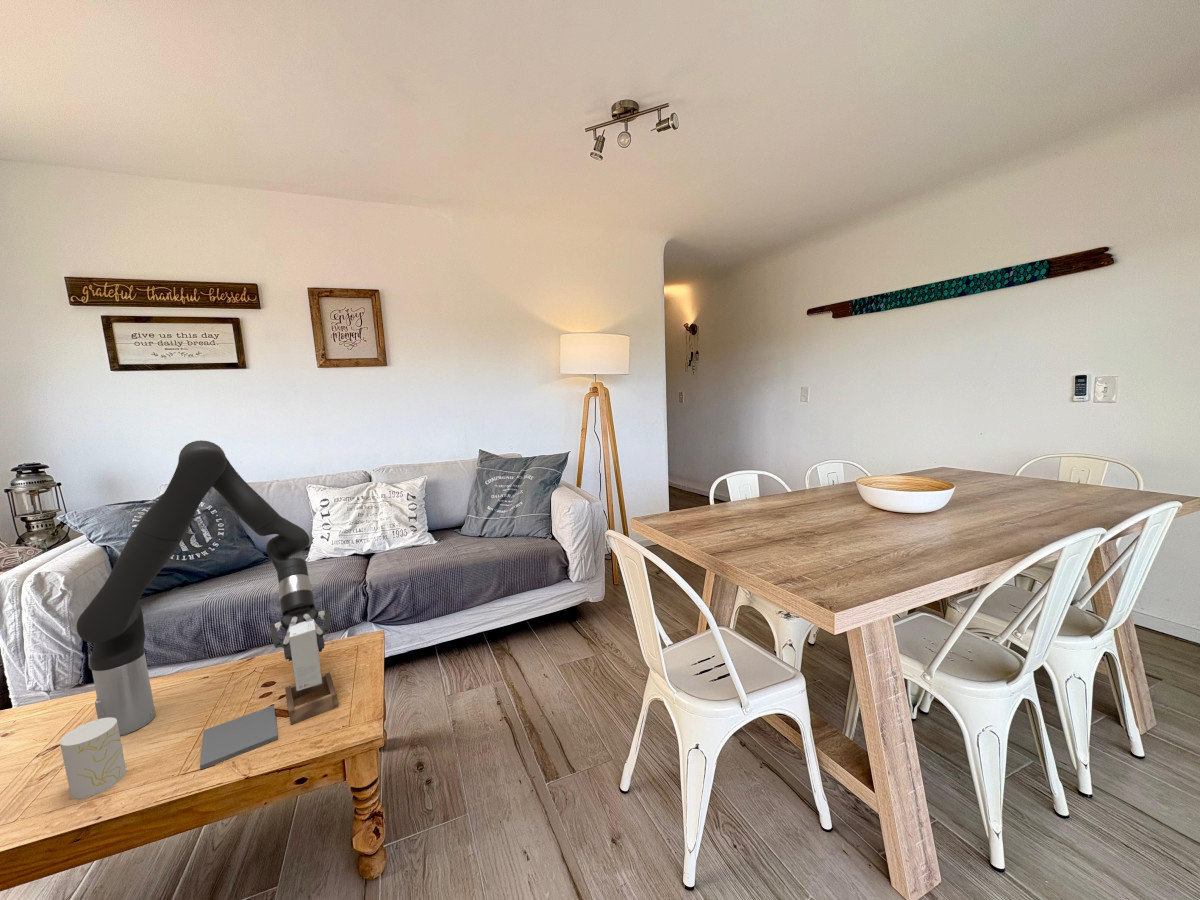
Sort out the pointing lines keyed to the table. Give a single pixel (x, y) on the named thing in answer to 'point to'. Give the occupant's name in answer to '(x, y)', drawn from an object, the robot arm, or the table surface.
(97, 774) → the grey patterned cylinder
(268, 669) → the table surface
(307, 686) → the skincare box
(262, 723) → the charcoal mat
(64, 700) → the table surface
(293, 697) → the walnut collar
